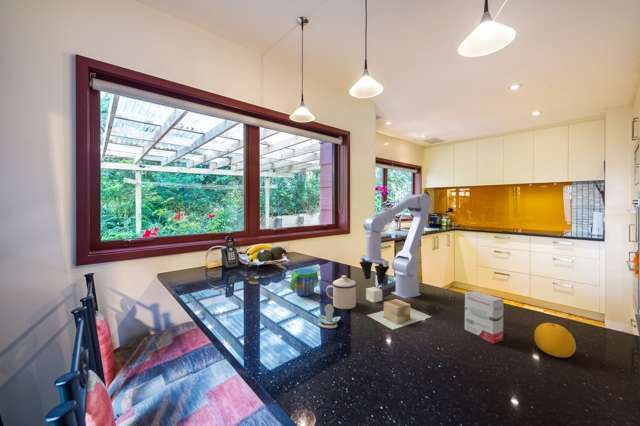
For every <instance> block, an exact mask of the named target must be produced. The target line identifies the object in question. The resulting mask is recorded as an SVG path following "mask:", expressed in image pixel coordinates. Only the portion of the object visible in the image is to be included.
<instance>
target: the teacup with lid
mask: <svg viewBox="0 0 640 426" xmlns="http://www.w3.org/2000/svg"><path fill="white" fill-rule="evenodd" d="M331 283H332V285H330V284H329V285H328V286H326V289H325V294H326V296H327V297H328V298H330V299H332V306H333V308H334V307H335V308H336V309H341V310H350V309H354V308H355V307H356V306H357V304H356V303H357V299H356V298H357V293H356V290H357V287H356V286H357V282H356V281H355V280H353V279H350V278H349V277H348V276H347V275H341V277H340V278H337V279H335V280H333V282H331ZM330 288H331V289H332V295H331V294H330V292H329V289H330Z"/></svg>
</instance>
